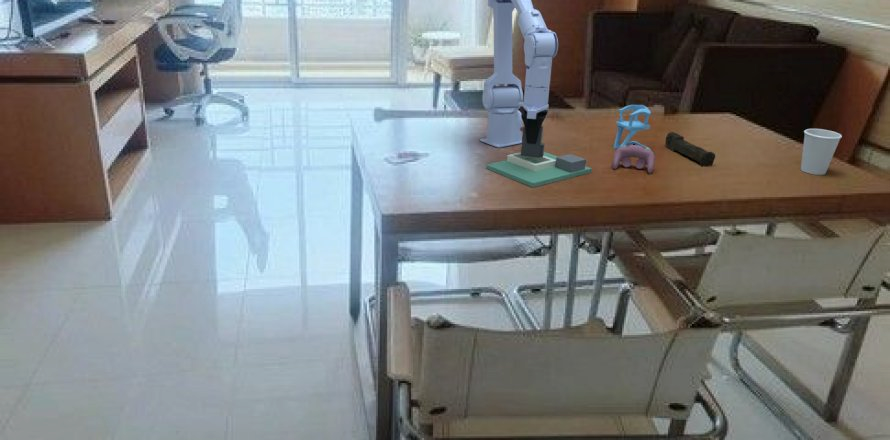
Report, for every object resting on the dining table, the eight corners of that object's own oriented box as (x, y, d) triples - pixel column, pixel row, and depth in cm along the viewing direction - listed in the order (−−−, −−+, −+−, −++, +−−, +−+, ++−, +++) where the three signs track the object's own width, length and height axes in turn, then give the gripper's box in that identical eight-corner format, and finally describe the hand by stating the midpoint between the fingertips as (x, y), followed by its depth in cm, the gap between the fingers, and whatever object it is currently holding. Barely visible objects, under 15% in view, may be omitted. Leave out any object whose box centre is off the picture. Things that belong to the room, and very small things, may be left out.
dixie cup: (836, 171, 169) (846, 133, 165) (825, 178, 164) (836, 139, 160) (801, 163, 174) (810, 126, 171) (790, 170, 169) (799, 132, 165)
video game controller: (652, 176, 165) (656, 149, 166) (652, 173, 161) (657, 145, 161) (611, 171, 168) (616, 144, 169) (611, 168, 164) (615, 140, 164)
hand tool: (714, 167, 170) (717, 149, 168) (700, 167, 169) (703, 149, 167) (674, 146, 187) (677, 130, 185) (661, 146, 186) (664, 130, 184)
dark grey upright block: (519, 151, 165) (521, 124, 162) (543, 154, 163) (546, 126, 161) (517, 155, 162) (519, 127, 159) (542, 158, 161) (545, 129, 158)
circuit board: (543, 155, 173) (545, 142, 172) (591, 172, 162) (593, 158, 160) (486, 168, 162) (486, 154, 160) (532, 187, 150) (534, 172, 149)
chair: (608, 146, 184) (613, 103, 179) (634, 144, 187) (640, 101, 182) (623, 154, 177) (629, 109, 173) (650, 152, 180) (657, 108, 175)
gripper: (524, 78, 163) (520, 132, 169) (515, 89, 150) (511, 147, 156) (553, 80, 162) (548, 135, 167) (547, 92, 149) (541, 150, 154)
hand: (532, 141), depth 161 cm, fingers closed on dark grey upright block, 3 cm apart
